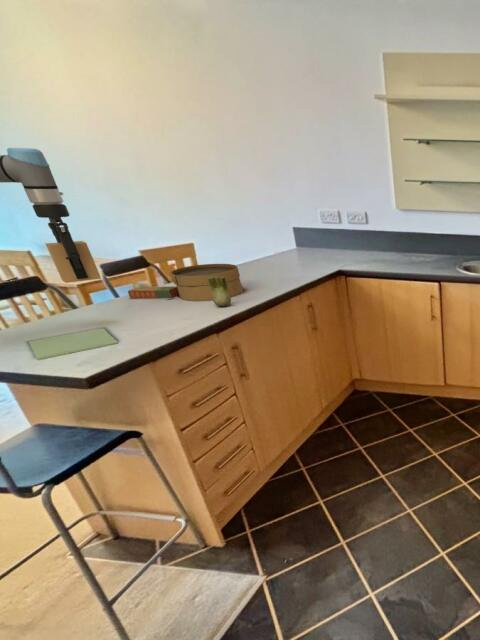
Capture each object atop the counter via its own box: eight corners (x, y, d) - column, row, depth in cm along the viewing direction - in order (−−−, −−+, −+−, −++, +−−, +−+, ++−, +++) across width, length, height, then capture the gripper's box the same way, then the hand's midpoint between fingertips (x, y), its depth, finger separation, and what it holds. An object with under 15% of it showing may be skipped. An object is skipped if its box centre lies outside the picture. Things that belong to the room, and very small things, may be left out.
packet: (62, 280, 141) (45, 243, 135) (97, 276, 147) (82, 240, 142) (65, 282, 138) (48, 245, 132) (101, 278, 144) (86, 242, 139)
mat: (29, 343, 131) (28, 341, 131) (104, 329, 144) (103, 328, 144) (37, 360, 120) (36, 358, 120) (118, 343, 133) (117, 341, 132)
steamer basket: (174, 304, 173) (165, 276, 168) (183, 290, 193) (174, 265, 187) (243, 297, 184) (236, 271, 179) (244, 285, 203) (238, 262, 198)
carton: (143, 295, 184) (139, 286, 182) (182, 295, 186) (179, 285, 184) (130, 300, 176) (126, 290, 175) (171, 299, 179) (168, 290, 177)
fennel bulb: (234, 305, 173) (226, 276, 168) (226, 308, 169) (217, 278, 164) (221, 304, 174) (213, 275, 169) (212, 307, 170) (203, 278, 164)
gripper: (70, 204, 129) (101, 279, 139) (59, 201, 139) (89, 271, 150) (36, 205, 124) (71, 283, 134) (26, 202, 134) (60, 274, 144)
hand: (80, 276), depth 142 cm, fingers closed on packet, 6 cm apart
